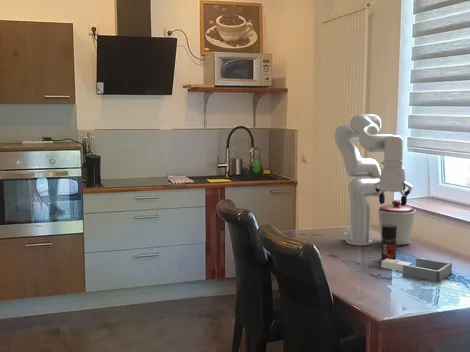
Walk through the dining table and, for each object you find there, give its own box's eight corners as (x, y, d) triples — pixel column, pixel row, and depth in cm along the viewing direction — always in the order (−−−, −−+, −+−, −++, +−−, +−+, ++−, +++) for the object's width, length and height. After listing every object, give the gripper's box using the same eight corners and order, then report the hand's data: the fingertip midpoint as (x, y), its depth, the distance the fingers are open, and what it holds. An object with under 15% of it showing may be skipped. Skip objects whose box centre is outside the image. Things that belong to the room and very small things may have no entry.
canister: (418, 248, 251) (419, 203, 249) (378, 247, 254) (379, 203, 252) (411, 239, 269) (413, 197, 267) (374, 238, 272) (375, 196, 269)
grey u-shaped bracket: (402, 275, 211) (403, 265, 210) (416, 266, 222) (416, 257, 221) (438, 282, 202) (439, 271, 202) (451, 273, 213) (451, 263, 212)
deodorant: (397, 259, 234) (398, 225, 232) (393, 262, 228) (394, 227, 227) (383, 257, 237) (384, 223, 235) (379, 260, 231) (380, 226, 230)
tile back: (381, 268, 222) (381, 260, 221) (386, 265, 225) (386, 258, 225) (392, 270, 218) (393, 263, 218) (398, 267, 222) (398, 260, 222)
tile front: (395, 270, 218) (395, 263, 217) (400, 267, 221) (400, 260, 221) (407, 273, 214) (407, 265, 214) (412, 270, 218) (412, 262, 218)
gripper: (370, 164, 232) (370, 204, 233) (408, 166, 220) (408, 207, 222) (378, 163, 237) (378, 201, 239) (416, 164, 226) (415, 205, 228)
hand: (392, 204), depth 231 cm, fingers open, 9 cm apart
